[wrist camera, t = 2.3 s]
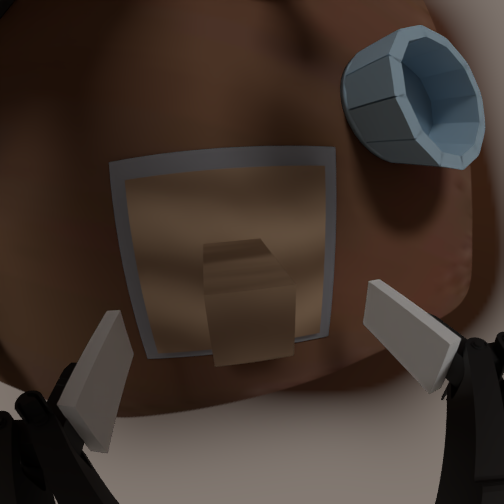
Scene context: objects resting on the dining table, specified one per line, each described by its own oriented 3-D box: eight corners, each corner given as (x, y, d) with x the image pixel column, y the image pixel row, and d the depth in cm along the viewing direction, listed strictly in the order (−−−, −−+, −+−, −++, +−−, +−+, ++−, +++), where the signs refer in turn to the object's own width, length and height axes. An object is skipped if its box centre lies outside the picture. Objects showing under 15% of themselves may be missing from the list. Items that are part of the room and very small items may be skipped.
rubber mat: (110, 162, 17) (108, 162, 17) (333, 147, 20) (335, 146, 19) (148, 356, 23) (147, 358, 22) (326, 333, 25) (328, 335, 25)
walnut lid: (129, 179, 18) (72, 191, 9) (318, 165, 20) (394, 169, 11) (159, 345, 22) (146, 427, 13) (314, 325, 24) (361, 394, 15)
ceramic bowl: (333, 39, 17) (377, 6, 10) (424, 67, 18) (473, 54, 12) (344, 159, 20) (398, 161, 14) (434, 167, 22) (487, 174, 15)
